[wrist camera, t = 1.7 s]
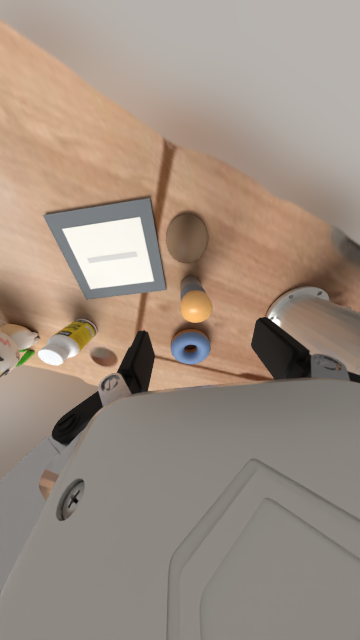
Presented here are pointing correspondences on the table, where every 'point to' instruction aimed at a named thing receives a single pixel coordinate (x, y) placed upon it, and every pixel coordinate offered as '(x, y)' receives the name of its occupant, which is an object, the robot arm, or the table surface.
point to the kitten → (14, 345)
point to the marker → (194, 300)
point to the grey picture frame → (110, 248)
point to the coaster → (186, 238)
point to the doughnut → (190, 338)
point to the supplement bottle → (67, 342)
